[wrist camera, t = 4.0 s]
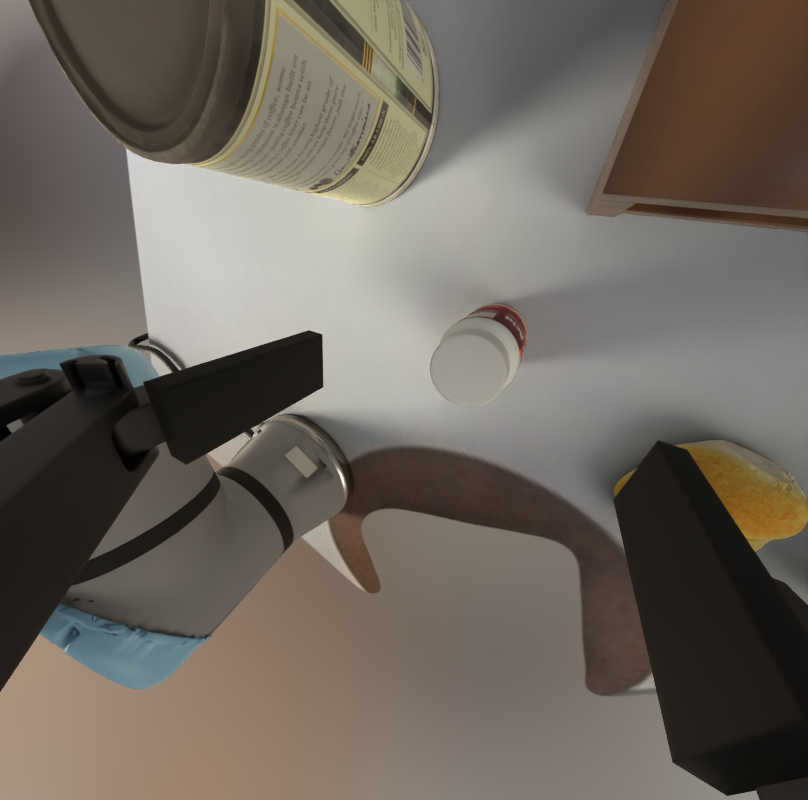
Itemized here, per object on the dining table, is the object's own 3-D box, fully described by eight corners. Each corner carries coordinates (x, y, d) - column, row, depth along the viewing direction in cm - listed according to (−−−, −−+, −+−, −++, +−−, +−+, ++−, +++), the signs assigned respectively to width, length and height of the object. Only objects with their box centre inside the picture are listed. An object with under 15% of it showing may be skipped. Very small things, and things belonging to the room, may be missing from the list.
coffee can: (286, 134, 22) (-6, 5, 10) (360, -60, 16) (-150, -882, 4) (372, 242, 22) (185, 229, 11) (476, 95, 16) (295, -273, 5)
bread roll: (590, 494, 23) (595, 533, 20) (687, 416, 18) (715, 450, 15) (693, 556, 22) (717, 608, 19) (831, 488, 17) (897, 544, 14)
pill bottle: (532, 360, 21) (522, 410, 14) (469, 370, 23) (435, 417, 17) (522, 294, 19) (505, 315, 13) (456, 312, 22) (412, 338, 15)
